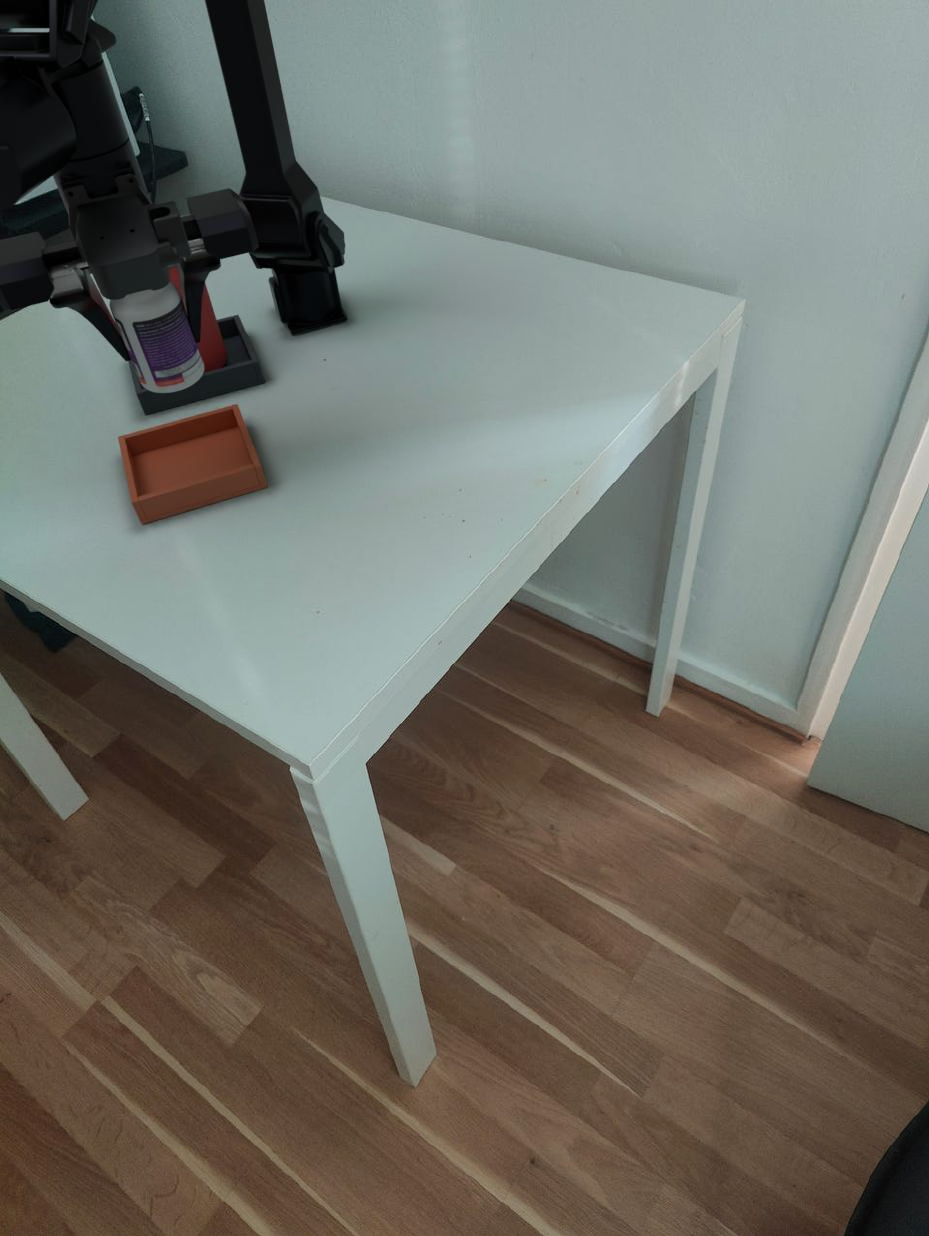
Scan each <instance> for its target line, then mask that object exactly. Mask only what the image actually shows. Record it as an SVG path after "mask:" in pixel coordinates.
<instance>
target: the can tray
mask: <svg viewBox="0 0 929 1236" xmlns="http://www.w3.org/2000/svg"><path fill="white" fill-rule="evenodd" d="M216 320H217V323H218V326H219V329H220V333H221V336H222V339H223V342H224V346H225V349H226V352H227V361H226V363H225V365H224V367H223V368H220V369H216V370H212V371H208V372H204V373H203V375H202V376H201V378H200V379H199V380H198V381H197V382H195V383H194V384H193V385H191V386H190V387H188V388H185V389H183V390H180V391H176V392H170V393H157V392H152V391H149V390H147V389H146V388H144V387H143V385H142V384H141V382H140V380H139V378H138V376H137V373H136V371H135V368H134V366H133V364H132V361H131V360H130V361H127V362H128V366H129V370H130V375H131V378H132V382H133V385H134V390H135V394H136V397H137V400H138V402H139V404H140V406H141V409H142V411H143V414H144V416H147V415H150V414H154V413H158V412H161V411H165V410H169V409H173V408H177V407H180V406H184V405H187V404H188V405H189V404H191V403H194V402H199V401H203V400H206V399H209V398H213V397H216V396H221V395H224V394H228V393H232V392H235V391H238V390H242V389H246V388H249V387H253V386H257V385H261V384H265V383H266V382H265V378H264V374H263V369H262V367H261V363H260V360H259V358H258V356H257V353H256V351H255V349H254V347H253V344H252V342H251V340H250V338H249V335H248V333H247V331H246V328H245V326H244V324H243V322H242V320H241V317H240V315H239V314H235V315H229V316H227V317H223V318H219V319H218V318H217V319H216Z"/></svg>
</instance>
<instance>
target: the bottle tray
mask: <svg viewBox="0 0 929 1236" xmlns="http://www.w3.org/2000/svg"><path fill="white" fill-rule="evenodd" d="M117 440H118V445H119V449H120V454H121V459H122V463H123V468H124V474H125V479H126V482H127V488H128V493H129V497H130V502H131V505H132V507H133V509H134V511H135V513H136V516H137V517H138V519H139V522H140V524H141V525H146V524H148V523H152V522H155V521H158V520H162V519H165V518H168V517H173V516H176V515H178V514H183V513H185V512H188V511H189V512H190V511H192V510H196V509H199V508H203V507H205V506H210V505H212V504H217V503H219V502H223V501H226V500H229V499H232V498H236V497H240V496H242V495H246V494H249V493H250V494H251V493H252V492H256V491H260V490H263V489H266V488H268V487H269V486H268V483H267V480H266V477H265V473H264V470H263V467H262V464H261V460H260V458H259V455H258V453H257V450H256V448H255V446H254V444H253V441H252V438H251V435H250V432H249V430H248V428H247V424H246V422H245V420H244V417H243V414H242V412H241V410H240V407H239V404H238V403H235V404H232V405H227V406H224V407H220V408H217V409H214V410H210V411H207V412H203V413H199V414H196V415H195V414H194V415H192V416H188V417H184V418H180V419H178V420H177V419H176V420H174V421H170V422H166V423H163V424H159V425H155V426H152V427H148V428H145V429H141V430H138V431H134V432H130V433H127V434H123V435H119V436H117Z"/></svg>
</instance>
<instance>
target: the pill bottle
mask: <svg viewBox="0 0 929 1236" xmlns="http://www.w3.org/2000/svg"><path fill="white" fill-rule="evenodd" d="M109 310H110V313H111V315H112V317H113V319H114V321H115V323H116V325H117V327H118V330H119V332H120V335H121V337H122V340H123V342H124V344H125V347H126V349H127V352H128V354H129V356H130V359H131V361H132V364H133V366H134V368H135V371H136V373H137V376H138V378H139V380H140V382H141V384H142V385H143V387H144V388H146V389H147V390H149V391H152V392H157V393H170V392H176V391H180V390H183V389H185V388H188V387H190V386H191V385H193V384H194V383H195V382H197V381H198V380H199V379H200V378H201V376H202V375H203V372H204V363H203V360H202V356H201V354H200V351H199V348H198V345H197V343H196V341H195V339H194V336H193V333H192V330H191V327H190V323H189V319H188V316H187V313H186V310H185V307H184V304H183V301H182V298H181V295H180V293H179V290H178V289H177V287H176V286H175V285H174V284H173V283H171V282H169V284H168V285H167V286H166V287H164V288H162V289H159V290H155V291H153V290H145V291H141V292H137V293H133V294H129V295H126V296H125V298H122V299H118V300H109Z"/></svg>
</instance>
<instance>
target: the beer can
mask: <svg viewBox="0 0 929 1236" xmlns="http://www.w3.org/2000/svg"><path fill="white" fill-rule="evenodd" d="M167 268H168V271H169V274H170V282H171V283H173V284H174V285H175V286H176V287H177V289H178V290H179V293H180V295H181V298H182V301H183V304H184V300H183V296H182V291H181V286H180V281H179V276H178V272H177V267H176V264H174V265H170V266H167ZM184 307H185V305H184ZM217 320H218V319H217V317H216V314H215V310H214V307H213V304H212V300H211V297H210V293H209V291H208V287H207V284H206V283H205V285H204V290H203V296H202V313H201V342H200V343H197V345H198V348H199V351H200V354H201V356H202V360H203V363H204V372H208V371H212V370H216V369H220V368H223V367H224V365H225V363H226V361H227V352H226V349H225V346H224V342H223V339H222V336H221V333H220V329H219V326H218V323H217ZM204 372H203V373H204Z"/></svg>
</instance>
